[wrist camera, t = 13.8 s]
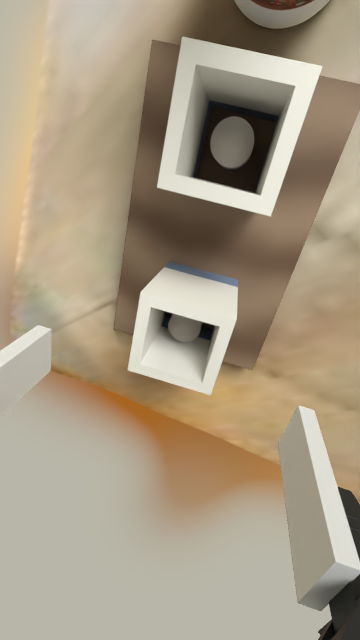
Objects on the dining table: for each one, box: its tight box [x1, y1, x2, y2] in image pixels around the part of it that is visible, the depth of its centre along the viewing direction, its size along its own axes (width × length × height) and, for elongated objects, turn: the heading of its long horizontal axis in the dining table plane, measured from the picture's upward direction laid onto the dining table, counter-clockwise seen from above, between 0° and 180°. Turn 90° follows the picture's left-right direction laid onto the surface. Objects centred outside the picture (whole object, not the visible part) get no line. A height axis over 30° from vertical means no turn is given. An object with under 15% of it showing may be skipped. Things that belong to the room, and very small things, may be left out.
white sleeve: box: [128, 261, 238, 395], centre depth 22 cm, size 6×6×8 cm
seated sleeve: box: [157, 37, 322, 216], centre depth 17 cm, size 6×6×8 cm
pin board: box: [114, 40, 360, 370], centre depth 22 cm, size 22×14×7 cm, turn 167°
